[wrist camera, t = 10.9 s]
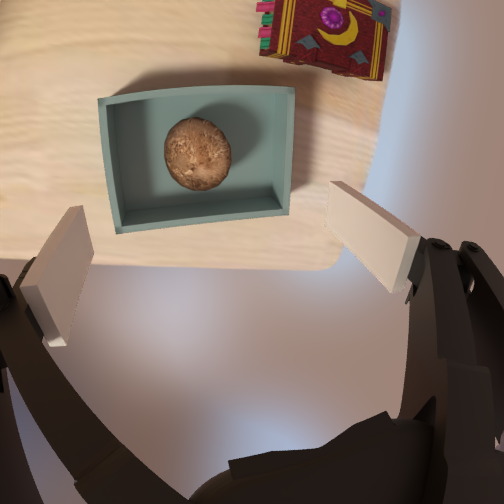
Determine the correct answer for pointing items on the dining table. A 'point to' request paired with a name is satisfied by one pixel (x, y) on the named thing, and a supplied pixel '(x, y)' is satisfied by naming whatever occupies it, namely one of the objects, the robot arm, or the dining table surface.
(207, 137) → the mushroom
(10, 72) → the dining table surface
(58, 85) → the dining table surface
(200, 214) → the open rectangular box
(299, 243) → the dining table surface
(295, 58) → the decorative book
